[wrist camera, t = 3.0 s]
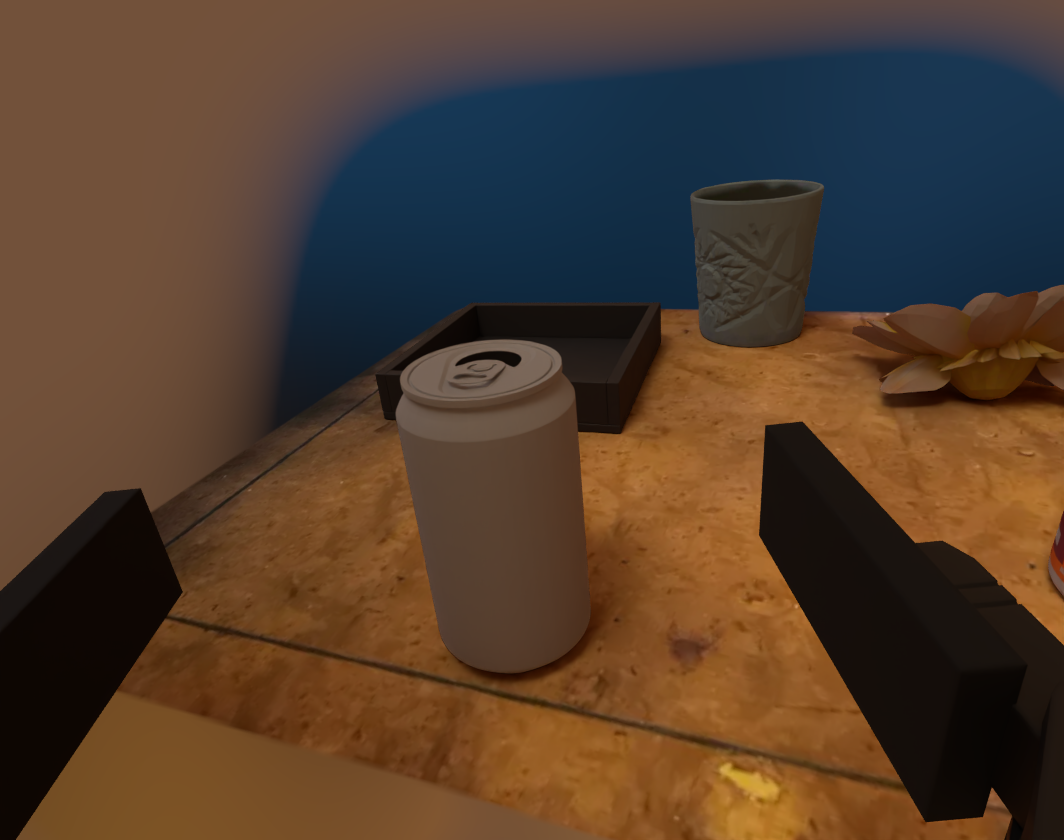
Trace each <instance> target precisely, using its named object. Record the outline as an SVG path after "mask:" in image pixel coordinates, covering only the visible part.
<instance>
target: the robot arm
mask: <svg viewBox="0 0 1064 840" xmlns="http://www.w3.org/2000/svg"><path fill="white" fill-rule="evenodd" d="M759 536H760V538H761V539H762V541H763V543H764V545H765V546H766V548H767V550H768V551H769V553H770V555H771V557H772V558H773V560H774V562H775V564H776V565H777V567H778V569H779V570H780V572H781V574H782V576H783V577H784V579H785V581H786V582H787V584H788V586H789V588H790V589H791V591H792V593H793V595H794V596H795V598H796V600H797V601H798V603H799V605H800V607H801V608H802V610H803V612H804V613H805V615H806V617H807V619H808V620H809V622H810V624H811V626H812V627H813V629H814V631H815V632H816V634H817V636H818V638H819V639H820V641H821V643H822V644H823V646H824V648H825V650H826V651H827V653H828V655H829V657H830V658H831V660H832V662H833V663H834V665H835V667H836V669H837V670H838V672H839V674H840V675H841V677H842V679H843V681H844V682H845V684H846V686H847V688H848V689H849V691H850V693H851V694H852V696H853V698H854V700H855V701H856V703H857V705H858V706H859V708H860V710H861V712H862V713H863V715H864V717H865V719H866V720H867V722H868V724H869V725H870V727H871V729H872V731H873V732H874V734H875V736H876V737H877V739H878V741H879V743H880V744H881V746H882V748H883V750H884V751H885V753H886V755H887V756H888V758H889V760H890V762H891V763H892V765H893V767H894V768H895V770H896V772H897V774H898V775H899V777H900V779H901V781H902V782H903V784H904V786H905V787H906V789H907V791H908V793H909V794H910V796H911V798H912V799H913V801H914V803H915V805H916V806H917V808H918V810H919V812H920V813H921V815H922V817H923V818H924V820H925V822H933V821H944V820H955V819H966V818H977V817H983V815H984V811H985V808H986V805H987V801H988V798H989V794H990V791H991V788H993V789H994V790H995V792H996V793H997V795H998V796H999V797H1000V799H1001V800H1002V802H1003V803H1004V805H1005V806H1006V807H1007V809H1008V810H1009V812H1010V813H1011V814H1012V818H1011V821H1010V824H1009V827H1008V830H1007V833H1006V836H1005V839H1004V840H1064V645H1063V644H1062V643H1061V642H1060V641H1059V640H1058V639H1057V638H1056V637H1055V636H1054V635H1053V634H1052V633H1050V632H1049V631H1048V630H1047V629H1046V628H1045V627H1044V626H1043V625H1042V624H1041V623H1040V622H1039V621H1038V620H1037V619H1036V618H1035V617H1034V616H1033V615H1032V614H1031V613H1030V612H1029V611H1028V610H1027V609H1026V608H1025V607H1024V606H1023V605H1022V604H1017V601H1016V598H1015V597H1014V596H1012V595H1011V594H1010V593H1009V592H1008V591H1007V590H1006V589H1005V588H1004V587H1003V586H1002V585H1000V586H999V585H998V583H997V580H996V579H995V578H994V577H993V576H992V575H991V574H990V573H989V572H988V571H987V570H986V569H985V568H984V567H983V566H982V565H981V564H980V563H979V562H978V561H977V560H975V559H974V558H973V557H971V556H969V555H967V554H965V553H964V552H962V551H960V550H958V549H956V548H955V547H953V546H951V545H949V544H947V543H946V542H944V541H934V542H924V543H915V542H914V541H913V540H912V539H911V538H910V537H909V536H908V535H907V534H906V533H905V532H904V531H903V530H902V528H901V527H900V526H899V525H898V524H897V523H896V522H895V521H894V520H893V519H892V518H891V517H890V516H889V514H888V513H887V512H886V511H885V510H884V509H883V508H882V507H881V506H880V505H879V504H878V503H877V502H876V500H875V499H874V498H873V497H872V496H871V495H870V494H869V493H868V492H867V491H866V490H865V489H864V487H863V486H862V485H861V484H860V483H859V482H858V481H857V480H856V479H855V478H854V477H853V476H852V475H851V473H850V472H849V471H848V470H847V469H846V468H845V467H844V466H843V465H842V464H841V463H840V462H839V461H838V459H837V458H836V457H835V456H834V455H833V454H832V453H831V452H830V451H829V450H828V449H827V448H826V447H825V445H824V444H823V443H822V442H821V441H820V440H819V439H818V438H817V437H816V436H815V435H814V434H813V433H812V431H811V430H810V429H809V428H808V427H807V426H806V425H805V424H804V423H803V422H794V423H784V424H775V425H765V442H764V459H763V477H762V494H761V511H760V529H759ZM182 592H183V591H182V589H181V586H180V584H179V581H178V579H177V577H176V574H175V572H174V569H173V567H172V564H171V562H170V559H169V557H168V554H167V552H166V549H165V547H164V545H163V542H162V540H161V537H160V535H159V532H158V530H157V527H156V525H155V522H154V520H153V518H152V515H151V513H150V510H149V508H148V505H147V503H146V501H145V498H144V495H143V493H142V490H141V489H130V490H120V491H110V492H104V493H103V494H102V495H101V496H100V497H99V498H98V499H97V500H96V501H95V502H94V503H93V504H92V505H91V506H90V507H88V508H87V509H86V510H85V511H84V512H83V513H82V514H81V515H80V516H79V517H78V518H77V519H76V520H75V521H74V522H73V523H72V524H71V525H70V526H68V527H67V528H66V529H65V530H64V531H63V532H62V533H61V534H60V535H59V536H58V537H57V538H56V539H55V540H54V541H53V542H52V543H51V544H50V545H49V546H47V548H45V549H44V550H43V551H42V552H41V553H40V554H39V555H38V556H37V557H36V558H35V559H34V560H33V561H32V562H31V563H30V564H29V565H27V567H25V568H24V569H23V570H22V571H21V572H20V573H19V574H18V575H17V576H16V577H15V578H14V579H13V580H12V581H11V582H10V583H9V584H7V586H5V587H4V588H3V589H2V590H1V591H0V840H16V838H17V837H18V836H19V834H20V833H21V831H22V830H23V828H24V827H25V825H26V824H27V822H28V821H29V819H30V818H31V816H32V815H33V813H34V812H35V810H36V809H37V807H38V806H39V804H40V803H41V801H42V800H43V798H44V797H45V796H46V794H47V793H48V791H49V790H50V788H51V787H52V785H53V784H54V782H55V780H56V779H57V778H58V776H59V775H60V773H61V772H62V770H63V769H64V767H65V766H66V764H67V763H68V761H69V760H70V758H71V757H72V755H73V754H74V752H75V751H76V749H77V748H78V747H79V745H80V743H81V742H82V740H83V739H84V738H85V736H86V735H87V733H88V732H89V730H90V729H91V727H92V726H93V724H94V723H95V721H96V720H97V718H98V717H99V715H100V714H101V713H102V711H103V710H104V708H105V707H106V705H107V704H108V702H109V701H110V699H111V698H112V696H113V695H114V693H115V692H116V690H117V689H118V687H119V686H120V684H121V683H122V681H123V680H124V678H125V677H126V675H127V674H128V672H129V671H130V670H131V668H132V667H133V665H134V664H135V662H136V661H137V659H138V658H139V656H140V655H141V653H142V652H143V650H144V649H145V647H146V646H147V644H148V643H149V641H150V640H151V638H152V637H153V635H154V634H155V632H156V631H157V630H158V628H159V627H160V625H161V624H162V622H163V621H164V619H165V618H166V616H167V615H168V613H169V612H170V610H171V609H172V607H173V606H174V604H175V603H176V601H177V600H178V598H179V597H180V595H181V594H182Z"/></svg>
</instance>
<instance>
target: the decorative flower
mask: <svg viewBox="0 0 1064 840" xmlns="http://www.w3.org/2000/svg"><path fill="white" fill-rule="evenodd" d="M883 319H884V321H885V322H886V323H885V322H880V321H874V320H873V321H867V322H868V323H869V324H870V325H872V326H873V327H869V326H857V327H853V334H854V335H856V336H858V337H860V338H862V339H864V340H866V341H868V342H870V343H872V344H874V345H876V346H879V347H881V348H884V349H887V350H891V351H895V352H898V353H903V354H909V355H916V356H915V357H913V358H916V359H914V360H912V361H910V362H908V363H906V364H904V365H902V366H900V367H898V368H896V369H895V370H893V371H891V372H890V373H888V374H887V375H885V376H884V377H882V378H880V379H879V380H880V381H881V382H882V383H883V384H882V385H881V388H880V390H881V391H883V392H885V393H888V394H891V393H907V392H920V391H933V390H937V389H939V388H941V387H943V386H944V385H945V384H947V383H948V382H950V383H951V384H952V385H953V386H954V387H955V388H957V389H958V390H959V391H960V392H962V393H963V394H965V395H966V396H968V397H969V398H972V399H981V400H991V399H997V398H1002V397H1005V396H1006V395H1008V394H1009V393H1011V392H1012V391H1013V390H1015V389H1016V388H1017V387H1018V386H1019V385H1020V384H1021V383H1022V382H1023V381H1024V380H1026V381H1030V382H1034V383H1038V384H1042V385H1047V386H1052V387H1053V386H1057V387H1059V388H1061V389H1062V390H1064V353H1063V352H1064V285H1060V286H1056V287H1052V288H1049V289H1047V290H1045V291H1042V292H1040V293H1038V292H1037V291H1034V292H1029V293H1023V294H1019V295H1015V296H1012V297H1008V298H1007V297H1005V296H1003V295H1001V294H999V293H984V294H982V295H980V296H978V297H975V298H974V299H973V300H972V301H971V302H969V303H968V304H967V305H966V306H965V308H964V309H963V310H962V311H960V310H958V309H956V308H953V307H948V306H941V305H936V304H922V305H911V306H909V307H906V308H904V309H902V310H900V311H897V312H895V313H893V314H891V315H889V316H888V317H886V318H883Z"/></svg>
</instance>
